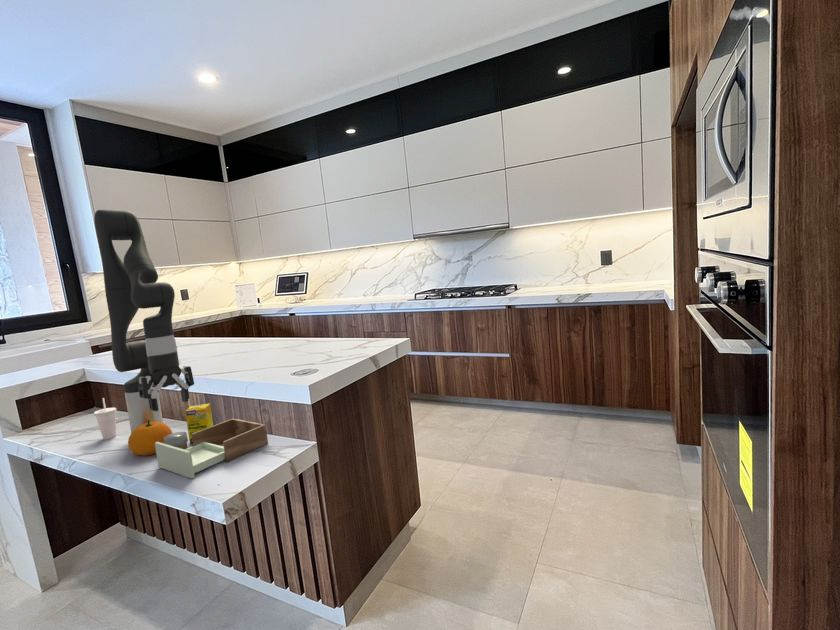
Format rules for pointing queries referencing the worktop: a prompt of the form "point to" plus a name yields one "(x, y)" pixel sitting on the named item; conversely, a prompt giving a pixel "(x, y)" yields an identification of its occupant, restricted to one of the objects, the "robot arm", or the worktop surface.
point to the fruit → (147, 437)
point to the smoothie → (106, 421)
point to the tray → (188, 457)
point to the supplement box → (198, 419)
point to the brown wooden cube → (183, 446)
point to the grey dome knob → (176, 439)
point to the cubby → (234, 437)
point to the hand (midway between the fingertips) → (170, 406)
